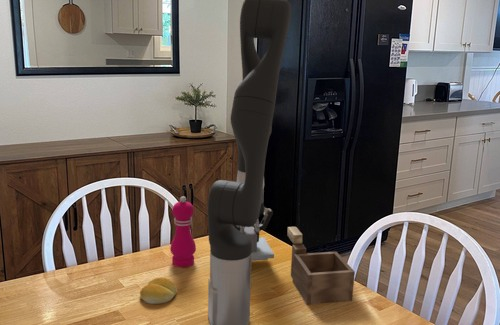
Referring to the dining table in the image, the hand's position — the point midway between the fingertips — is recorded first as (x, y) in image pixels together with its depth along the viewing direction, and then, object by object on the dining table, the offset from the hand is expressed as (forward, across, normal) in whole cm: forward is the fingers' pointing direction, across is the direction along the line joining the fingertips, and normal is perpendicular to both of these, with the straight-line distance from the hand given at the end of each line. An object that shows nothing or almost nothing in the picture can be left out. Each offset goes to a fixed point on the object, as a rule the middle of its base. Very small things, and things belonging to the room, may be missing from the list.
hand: (248, 243), depth 141 cm
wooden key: (-3, -12, +6) cm, 13 cm away
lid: (+3, 0, 0) cm, 3 cm away
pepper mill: (+7, +18, -4) cm, 20 cm away
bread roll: (+7, +26, +14) cm, 30 cm away
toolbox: (+7, -16, +16) cm, 24 cm away
